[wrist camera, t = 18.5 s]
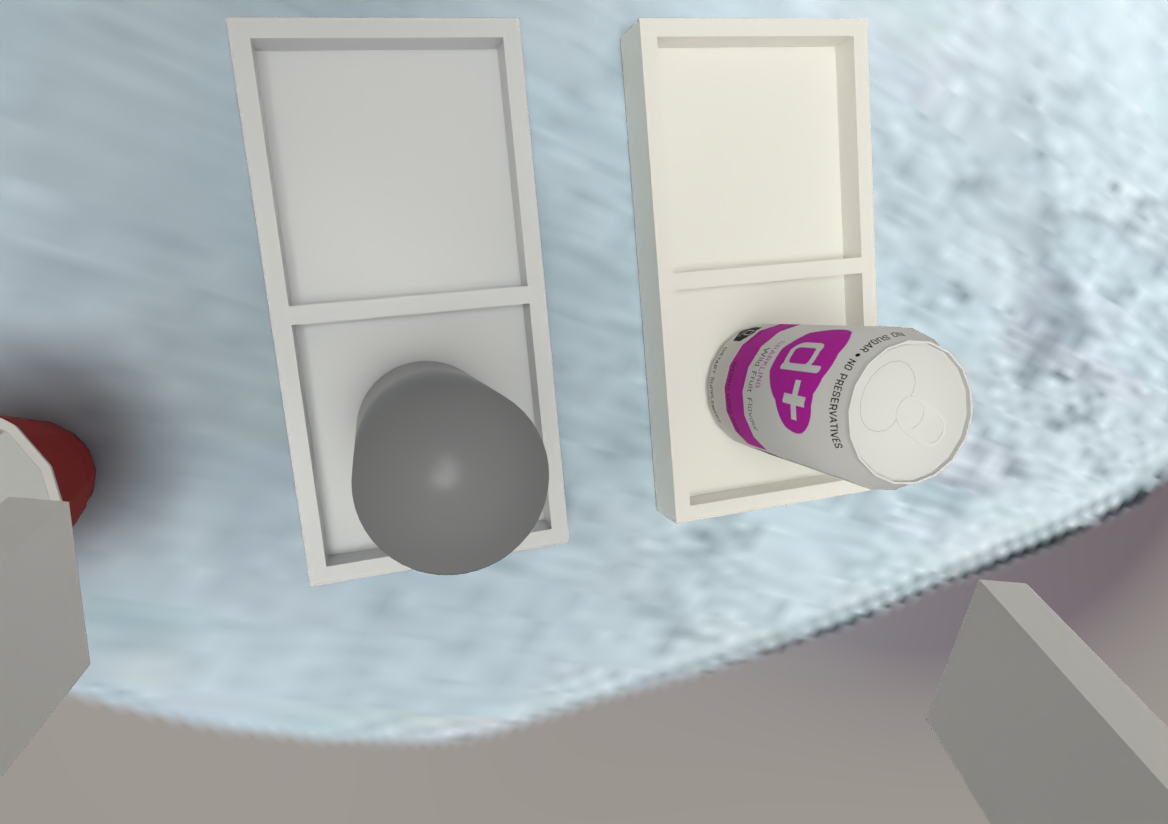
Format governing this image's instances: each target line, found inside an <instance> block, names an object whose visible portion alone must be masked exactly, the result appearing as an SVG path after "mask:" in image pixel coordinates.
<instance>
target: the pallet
mask: <svg viewBox="0 0 1168 824" xmlns="http://www.w3.org/2000/svg"><path fill="white" fill-rule="evenodd" d="M620 41H621V54H622V67H623V80H624V93H625V106H626V118H627V131H628V144H629V157H630V170H631V183H632V196H633V209H634V222H635V234H636V247H637V260H638V273H639V286H640V299H641V312H642V325H643V338H644V351H645V363H646V376H647V389H648V402H649V415H650V428H651V441H652V454H653V467H654V479H655V492H656V505H657V511H659V512H660V513H662V514H663V515H665V516H666V517H668V518H669V519H670V520H672V521H673V522H675V523H676V524H678V523H684V522H690V521H695V520H701V519H707V518H713V517H718V516H724V515H730V514H736V513H742V512H747V511H753V510H759V509H765V508H771V507H776V506H782V505H788V504H794V503H799V502H805V501H811V500H817V499H823V498H828V497H834V496H840V495H846V494H852V493H857V492H863V491H869V490H871V489H868V488H865V487H862V486H859V485H856V484H853V483H851V482H848V481H845V480H842V479H839V478H836V477H833V476H830V475H828V474H825V473H822V472H819V471H816V470H813V469H810V468H808V467H805V466H802V465H799V464H796V463H793V462H790V461H788V460H785V459H782V458H779V457H776V456H773V455H770V454H767V453H765V452H762V451H759V450H756V449H753V448H750V447H748V446H746V445H743V444H741V443H739V442H736V441H734V440H733V439H732V438H731V437H730V436H729V435H728V434H727V433H726V432H725V431H724V430H723V429H722V428H721V427H720V426H719V425H718V423H717V421H716V418H715V416H714V414H713V412H712V409H711V407H710V400H709V388H708V383H709V379H710V375H711V371H712V366H713V362H714V361H715V359H716V358H717V356H718V354H719V353H720V351H721V349H722V348H723V346H724V345H725V343H726V342H728V341H729V340H730V339H731V338H733V337H734V336H735V335H736V334H738V333H739V332H740V331H741V330H743V329H746V328H750V327H753V326H756V325H759V324H801V325H843V326H877V303H876V273H875V242H874V212H873V181H872V150H871V120H870V89H869V59H868V28H867V19H734V18H639V19H638V20H637V21H636V22H635V24H634V25H633V26H632V27H631V28H630V29H629V30H628V31H627V32H626V33H625V34H624V35H623V37H622V38H621V39H620Z"/></svg>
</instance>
